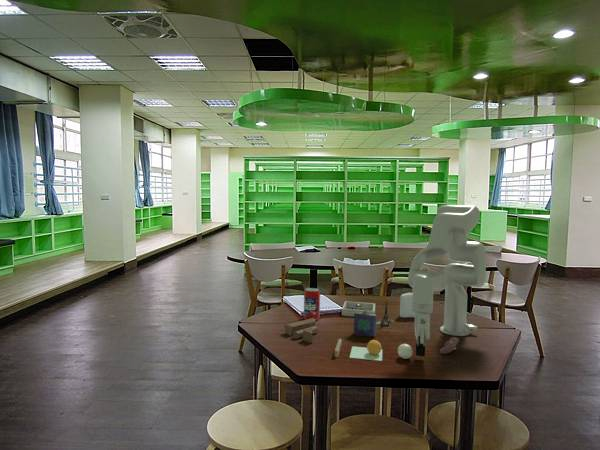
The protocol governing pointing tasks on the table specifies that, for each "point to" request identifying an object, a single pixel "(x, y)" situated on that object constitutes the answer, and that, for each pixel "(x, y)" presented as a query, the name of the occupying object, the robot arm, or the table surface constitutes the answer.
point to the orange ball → (374, 347)
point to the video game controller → (449, 346)
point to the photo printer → (406, 305)
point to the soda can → (311, 303)
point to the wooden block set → (302, 329)
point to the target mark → (364, 354)
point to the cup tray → (352, 305)
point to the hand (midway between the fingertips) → (420, 355)
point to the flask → (365, 324)
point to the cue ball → (405, 351)
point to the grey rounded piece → (358, 306)
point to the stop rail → (338, 348)
